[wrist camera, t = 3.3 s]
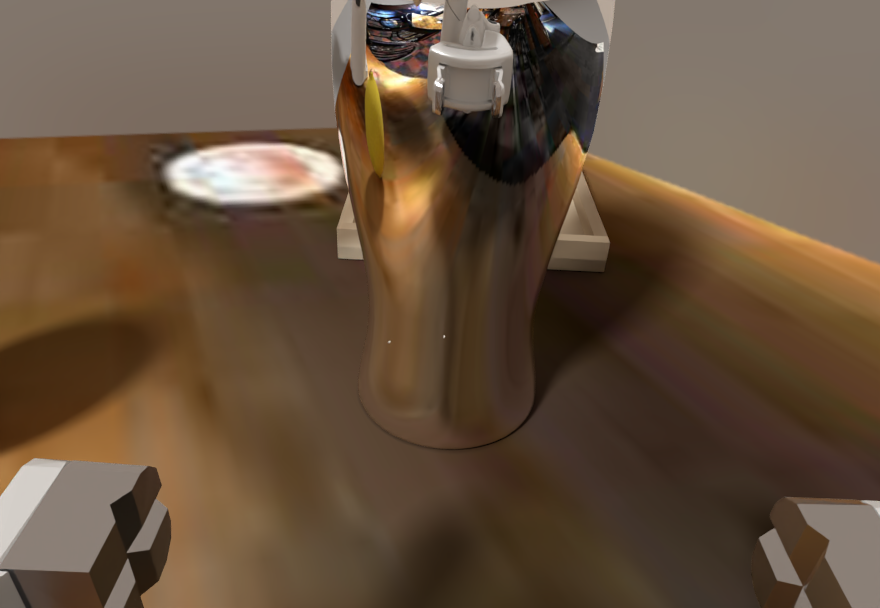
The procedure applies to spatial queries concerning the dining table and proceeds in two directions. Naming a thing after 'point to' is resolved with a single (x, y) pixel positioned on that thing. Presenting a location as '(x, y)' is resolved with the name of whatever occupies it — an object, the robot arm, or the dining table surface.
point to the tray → (574, 249)
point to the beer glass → (460, 194)
